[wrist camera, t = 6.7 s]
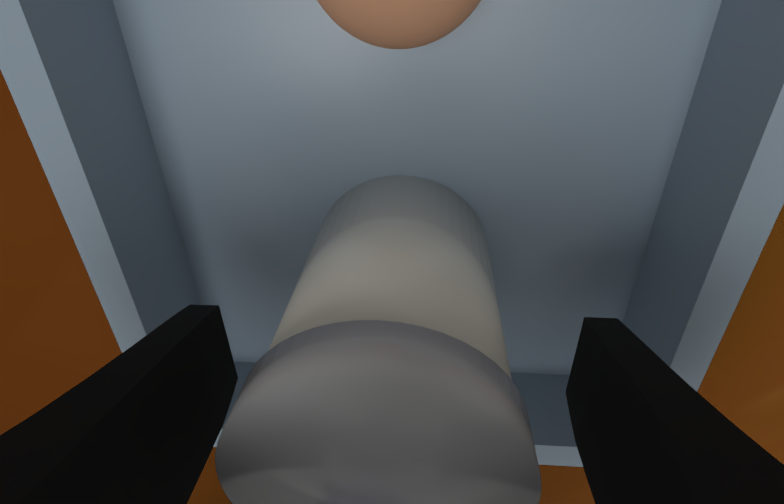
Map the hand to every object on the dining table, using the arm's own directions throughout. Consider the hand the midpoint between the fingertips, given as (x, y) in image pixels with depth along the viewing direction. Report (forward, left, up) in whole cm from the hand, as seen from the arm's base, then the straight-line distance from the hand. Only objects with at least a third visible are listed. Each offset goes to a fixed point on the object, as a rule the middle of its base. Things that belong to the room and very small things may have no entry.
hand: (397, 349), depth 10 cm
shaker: (0, 0, -3) cm, 3 cm away
